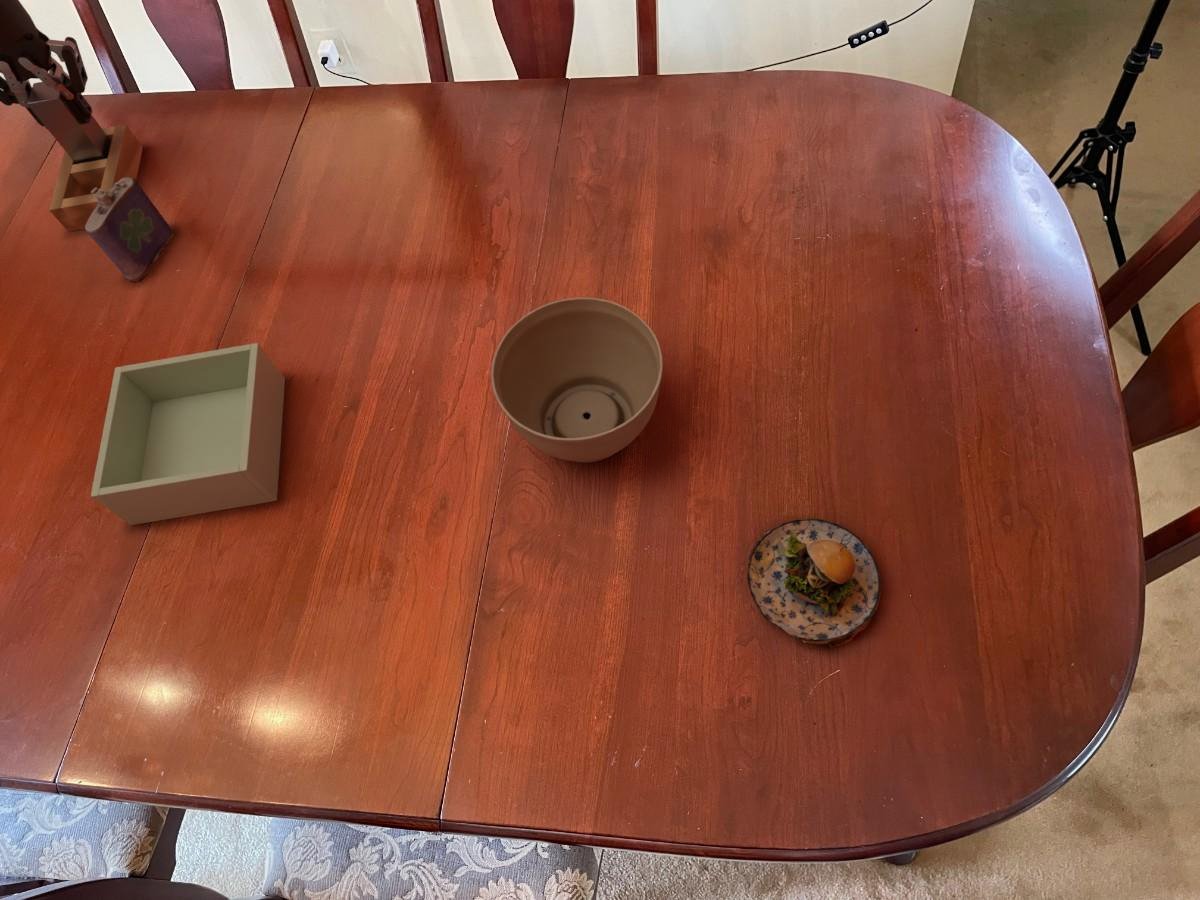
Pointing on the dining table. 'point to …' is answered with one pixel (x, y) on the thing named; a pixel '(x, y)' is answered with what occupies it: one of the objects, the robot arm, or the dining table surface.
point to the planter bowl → (578, 377)
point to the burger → (815, 581)
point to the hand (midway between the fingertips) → (70, 121)
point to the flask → (128, 228)
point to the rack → (93, 178)
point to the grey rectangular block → (68, 125)
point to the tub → (191, 435)
